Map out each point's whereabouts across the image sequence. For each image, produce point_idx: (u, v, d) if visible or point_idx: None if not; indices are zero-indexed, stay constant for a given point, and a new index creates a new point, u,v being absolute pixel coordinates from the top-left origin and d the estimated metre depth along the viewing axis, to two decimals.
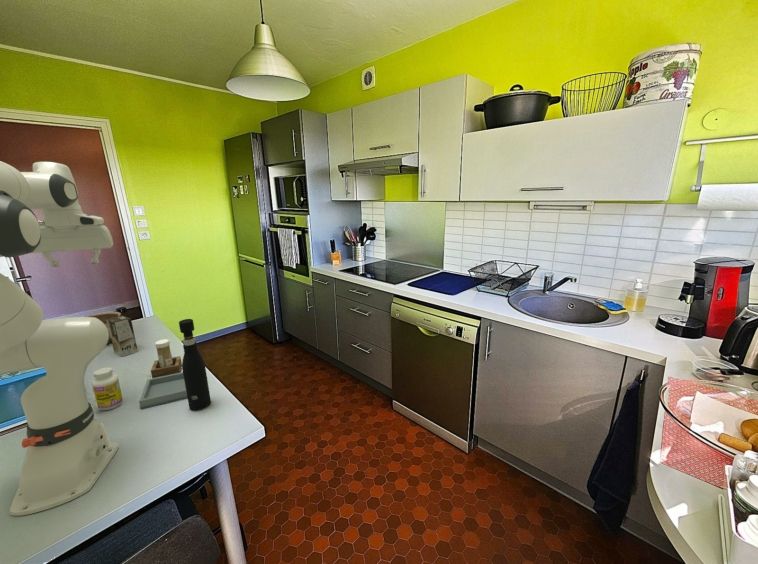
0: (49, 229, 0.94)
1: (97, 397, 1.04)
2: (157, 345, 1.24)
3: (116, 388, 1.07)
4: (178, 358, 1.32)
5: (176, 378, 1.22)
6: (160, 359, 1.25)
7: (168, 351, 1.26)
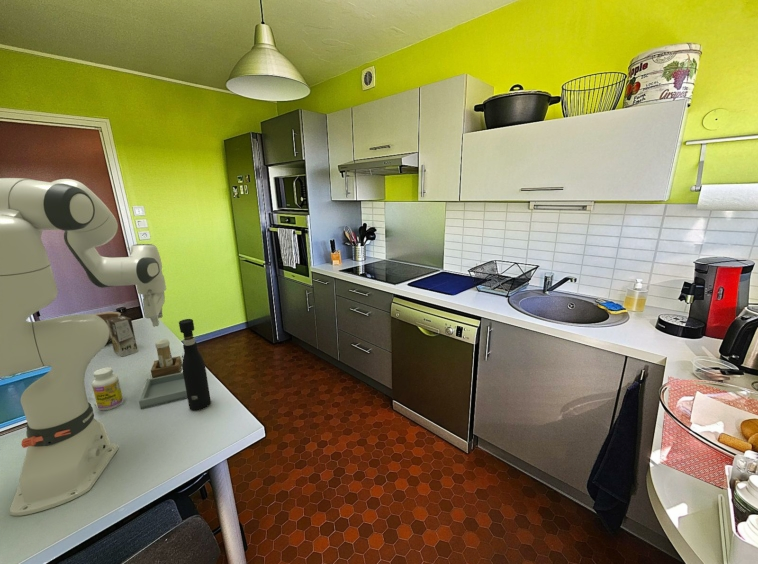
0: (156, 295, 1.19)
1: (97, 397, 1.04)
2: (157, 345, 1.24)
3: (116, 388, 1.07)
4: (178, 358, 1.32)
5: (176, 378, 1.22)
6: (160, 359, 1.25)
7: (168, 351, 1.26)
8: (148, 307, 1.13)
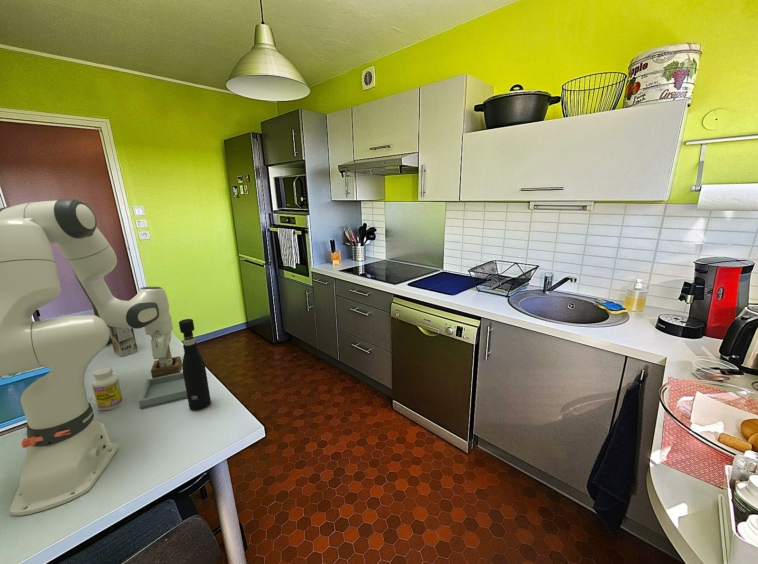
0: (164, 335, 1.22)
1: (97, 397, 1.04)
2: None
3: (116, 388, 1.07)
4: (178, 358, 1.32)
5: (176, 378, 1.22)
6: None
7: (168, 351, 1.26)
8: (156, 349, 1.17)
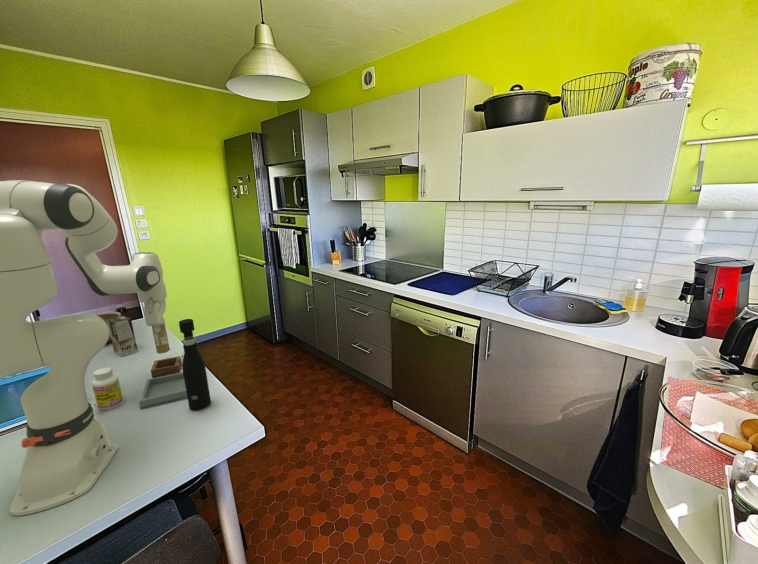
0: (158, 303, 1.19)
1: (97, 397, 1.04)
2: None
3: (116, 388, 1.07)
4: (178, 358, 1.32)
5: (176, 378, 1.22)
6: (155, 337, 1.22)
7: (163, 329, 1.24)
8: (149, 315, 1.13)
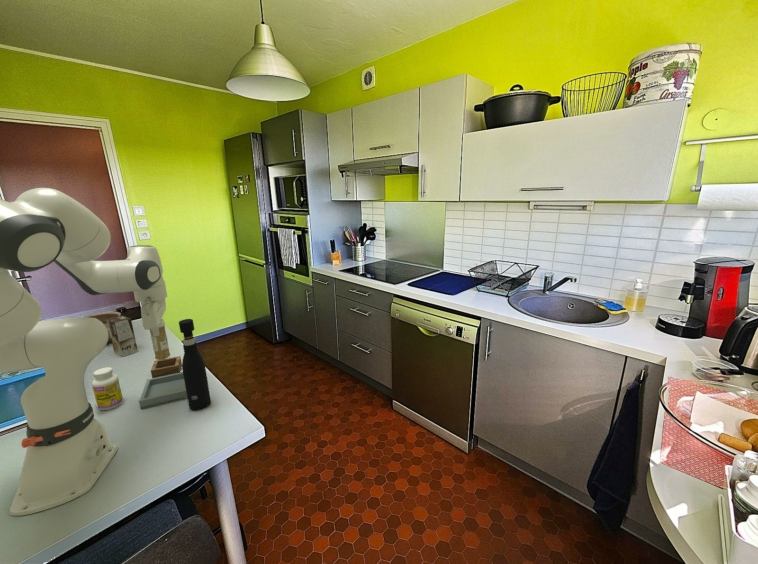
0: (156, 303, 1.05)
1: (97, 397, 1.04)
2: None
3: (116, 388, 1.07)
4: (178, 358, 1.32)
5: (176, 378, 1.22)
6: (154, 341, 1.08)
7: (163, 332, 1.10)
8: (147, 317, 0.99)
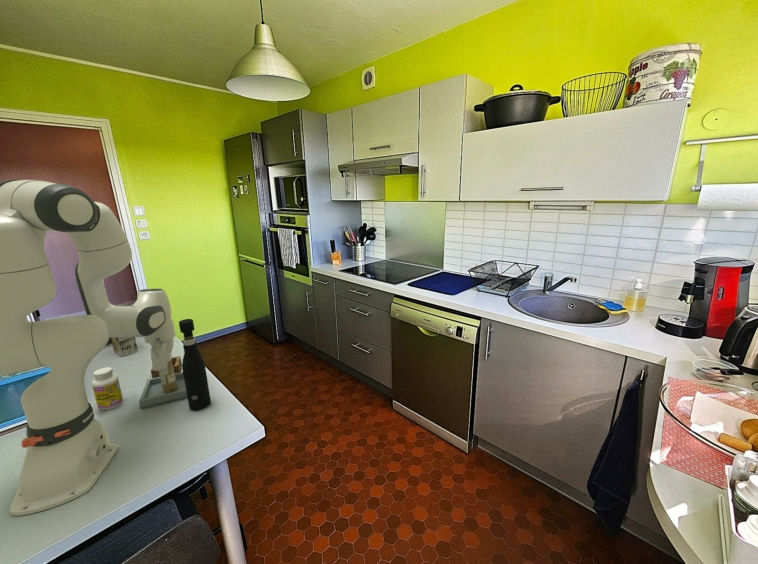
0: (165, 343, 1.09)
1: (97, 397, 1.04)
2: None
3: (116, 388, 1.07)
4: (178, 358, 1.32)
5: (176, 378, 1.22)
6: (161, 375, 1.12)
7: (170, 366, 1.13)
8: (156, 359, 1.03)
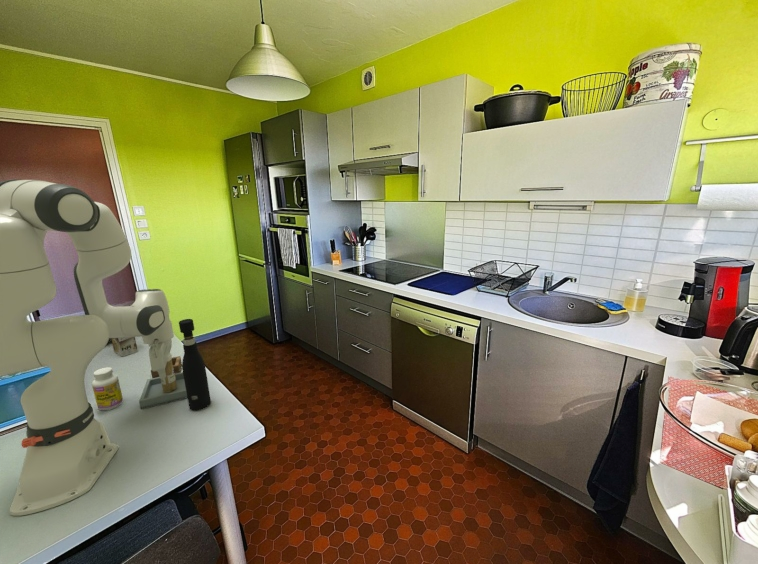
0: (164, 344, 1.08)
1: (97, 397, 1.04)
2: None
3: (116, 388, 1.07)
4: (178, 358, 1.32)
5: (176, 378, 1.22)
6: None
7: (170, 366, 1.13)
8: (155, 359, 1.03)
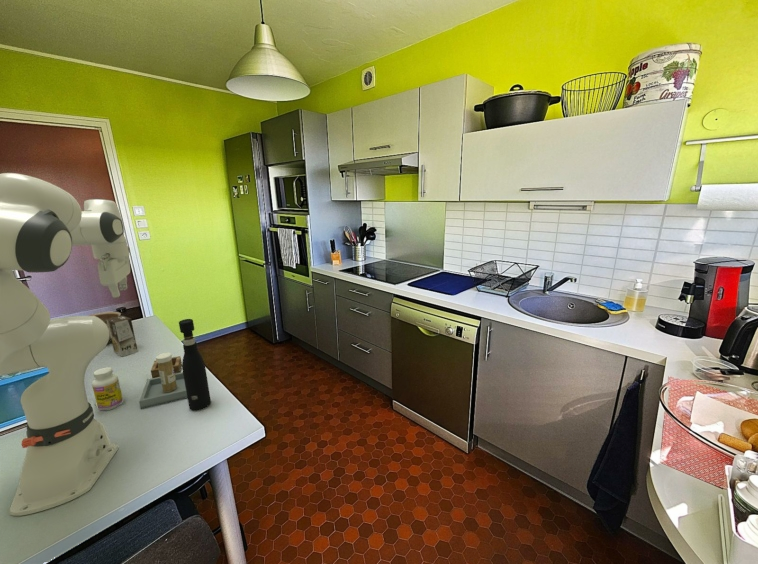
0: (116, 260, 1.01)
1: (97, 397, 1.04)
2: (158, 360, 1.10)
3: (116, 388, 1.07)
4: (178, 358, 1.32)
5: (176, 378, 1.22)
6: (161, 375, 1.12)
7: (170, 366, 1.13)
8: (104, 272, 0.95)
